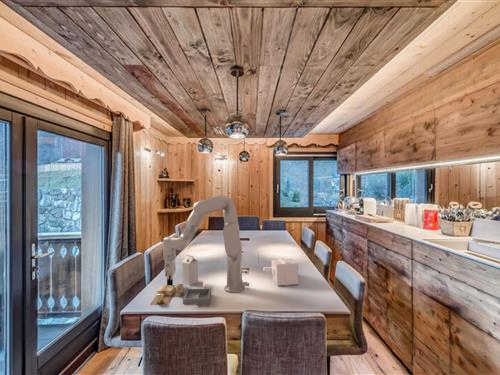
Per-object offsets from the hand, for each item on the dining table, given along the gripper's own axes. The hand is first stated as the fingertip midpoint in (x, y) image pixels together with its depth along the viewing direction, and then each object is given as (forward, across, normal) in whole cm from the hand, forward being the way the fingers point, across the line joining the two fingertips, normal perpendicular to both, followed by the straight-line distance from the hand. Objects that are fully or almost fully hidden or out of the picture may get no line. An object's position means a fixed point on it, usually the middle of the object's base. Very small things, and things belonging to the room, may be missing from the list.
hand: (169, 285), depth 163 cm
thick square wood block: (+1, -9, 0) cm, 9 cm away
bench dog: (+1, -22, 0) cm, 22 cm away
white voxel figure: (+2, +12, -74) cm, 74 cm away
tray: (+2, -17, -20) cm, 26 cm away
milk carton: (+2, +7, -12) cm, 14 cm away
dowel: (+2, -12, -8) cm, 15 cm away
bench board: (+2, -13, 0) cm, 13 cm away
